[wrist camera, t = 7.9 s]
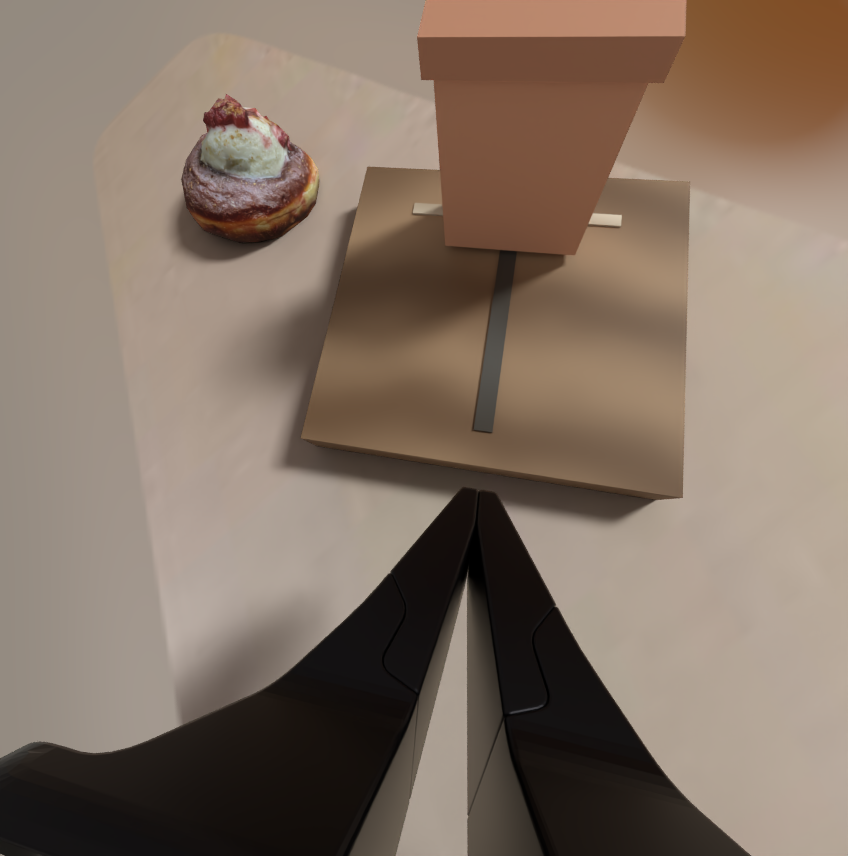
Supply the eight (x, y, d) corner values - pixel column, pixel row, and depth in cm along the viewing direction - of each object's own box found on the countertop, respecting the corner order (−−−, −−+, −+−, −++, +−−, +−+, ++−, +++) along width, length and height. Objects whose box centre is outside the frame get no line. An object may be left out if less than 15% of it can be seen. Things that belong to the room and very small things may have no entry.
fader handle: (581, 261, 17) (685, 36, 9) (437, 250, 18) (417, 37, 10) (587, 195, 18) (688, -67, 10) (449, 188, 19) (439, -57, 11)
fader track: (657, 499, 16) (683, 497, 14) (317, 446, 19) (299, 437, 17) (667, 214, 20) (691, 179, 18) (376, 197, 22) (366, 165, 20)
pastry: (335, 155, 23) (302, 60, 18) (301, 259, 22) (254, 186, 17) (222, 145, 24) (162, 54, 20) (181, 243, 23) (105, 170, 18)
